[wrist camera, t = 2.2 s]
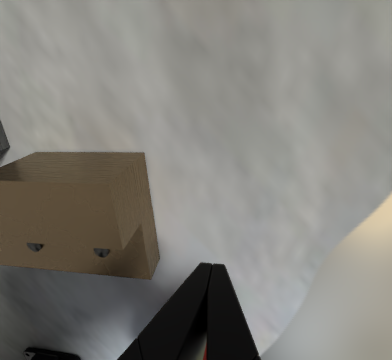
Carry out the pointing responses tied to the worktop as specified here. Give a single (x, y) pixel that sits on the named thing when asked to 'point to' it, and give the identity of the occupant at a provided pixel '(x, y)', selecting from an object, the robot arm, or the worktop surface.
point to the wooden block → (78, 214)
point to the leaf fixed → (3, 139)
